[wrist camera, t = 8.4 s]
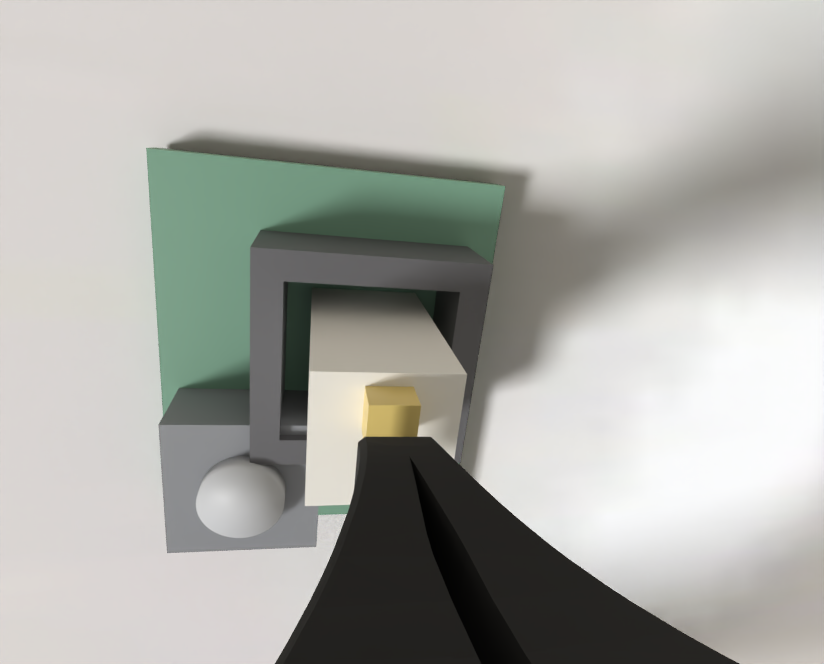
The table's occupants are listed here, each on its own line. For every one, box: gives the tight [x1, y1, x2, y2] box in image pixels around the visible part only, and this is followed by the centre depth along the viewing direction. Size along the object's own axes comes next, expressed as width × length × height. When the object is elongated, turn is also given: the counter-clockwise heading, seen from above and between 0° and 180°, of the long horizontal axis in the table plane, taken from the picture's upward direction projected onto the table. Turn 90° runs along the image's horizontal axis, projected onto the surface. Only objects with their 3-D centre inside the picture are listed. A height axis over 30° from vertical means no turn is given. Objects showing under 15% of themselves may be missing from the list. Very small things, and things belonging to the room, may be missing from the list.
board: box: [146, 148, 505, 553], centre depth 15 cm, size 12×10×4 cm
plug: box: [305, 288, 467, 506], centre depth 13 cm, size 3×3×7 cm
